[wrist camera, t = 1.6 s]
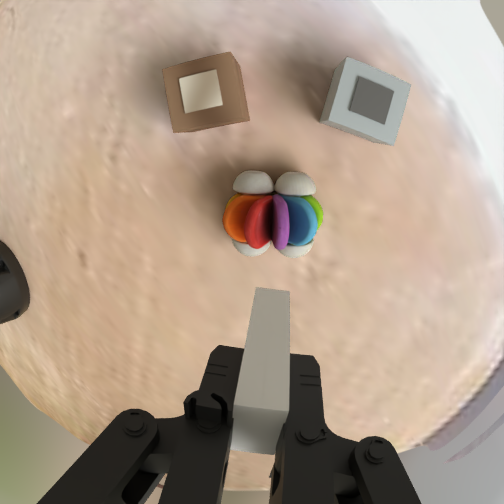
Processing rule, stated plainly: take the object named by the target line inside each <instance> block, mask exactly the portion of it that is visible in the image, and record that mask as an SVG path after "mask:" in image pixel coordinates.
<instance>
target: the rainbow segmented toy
mask: <svg viewBox="0 0 504 504" xmlns="http://www.w3.org/2000/svg"><path fill="white" fill-rule="evenodd" d="M233 190H234V191H236V192H238V193H237V194H236V195H234V196H233V197H232V198H231V199H230V200H229V201H228V203H227V205H226V208H225V212H224V215H223V225H224V228H225V230H226V232H227V233H228V235H229V236H230V237H232V241H233V244H234V246H235V248H236V249H237V250H238V251H239V252H240V253H242V254H243V255H246V256H258V255H260V254H262V253H264V252H265V251H266V250H267V249H268V248H269V246H270V244H271V241H272V242H273V244H274V247H275V248H276V249H277V250H278V251H279V252H280V253H281V254H283V255H284V256H286V257H290V258H298V257H301V256H303V255H305V254H306V253H308V252H309V250H310V249H311V247H312V245H313V242H314V240H313V237H314V236H315V234H316V231H317V230H318V228H319V227H320V225H321V223H322V220H323V210H322V207H321V205H320V204H319V202H318V201H317V200H316V199H315V198H314V197H312V195H311V194H314V193H315V192H316V187H315V184H314V182H313V180H312V179H311V178H310V176H308V175H307V174H305V173H302V172H286V173H284V174H283V175H281V176H280V177H279V178H278V180H277V181H276V184H275V185H274V184H273V182H272V180H271V178H270V177H269V176H268V175H267V174H266V173H265V172H262V171H255V170H250V171H244V172H242V173H241V174H240V175H238V176H237V178H236V179H235V181H234V184H233ZM273 191H276V192H277V193H278V195H273V196H271V195H270V193H271V192H273Z"/></svg>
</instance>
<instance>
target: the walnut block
mask: <svg viewBox="0 0 504 504" xmlns="http://www.w3.org/2000/svg"><path fill="white" fill-rule="evenodd" d="M162 71H163V77H164V83H165V89H166V95H167V101H168V106H169V112H170V117H171V123H172V128H173V133H181V132H195V131H200V130H204V129H209V128H214V127H219V126H224V125H229V124H234V123H239V122H245V121H250V118H249V112H248V107H247V101H246V96H245V90H244V85H243V80H242V74H241V69H240V65H239V64H238V62H237V61H236V59H235V58H234V56H233V55H232V53H231V52H226V53H222V54H217V55H213V56H208V57H204V58H200V59H196V60H193V61H189V62H185V63H182V64H178V65H175V66H171V67H168V68H165V69H162Z"/></svg>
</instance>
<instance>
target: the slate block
mask: <svg viewBox="0 0 504 504" xmlns="http://www.w3.org/2000/svg"><path fill="white" fill-rule="evenodd" d="M410 87H411V84H409V83H407V82H405V81H403V80H401V79H399V78H397V77H395V76H393V75H390V74H388V73H386V72H384V71H382V70H379V69H377V68H375V67H372V66H370V65H367V64H365V63H363V62H360V61H357V60H355V59H352V58H350V57H346V58H345V59H344V60H343V61H342V62H341V64H340V65H339V66H338V67H337V68H336V69H335V71H334V74H333V78H332V81H331V85H330V88H329V91H328V95H327V98H326V101H325V105H324V108H323V111H322V115H321V118H320V121H319V122H320V123H323V124H325V125H328V126H331V127H334V128H337V129H340V130H342V131H345V132H348V133H350V134H353V135H356V136H358V137H361V138H363V139H366V140H368V141H371V142H373V143H379V144H385V145H391V146H394V143H395V140H396V137H397V133H398V130H399V127H400V123H401V120H402V116H403V113H404V109H405V106H406V102H407V98H408V95H409V91H410Z"/></svg>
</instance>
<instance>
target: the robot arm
mask: <svg viewBox="0 0 504 504" xmlns="http://www.w3.org/2000/svg"><path fill="white" fill-rule="evenodd" d="M29 303H30V294H29V288H28V284H27V281H26V278H25V275H24V273H23V270H22V268H21V266H20V264H19V262H18V261H17V259H16V257H15V256H14V254H13V253H12V252H11V250H10V249H9V248H8V247H7V246H6V245H5V244H4V243H2V242H1V241H0V324H3V323H5V322H8V321H11V320H14V319H17V318H18V317H20V316H21V315H22V314H23V313H24V312H25V311H26V310H27V309H28V307H29ZM183 403H184V411H185V414H184V415H182V416H179V417H175V418H154V416H152V415H151V414H150V413H149V412H147V411H144V410H141V409H129V410H126V411H123V412H121V413H120V414H119V415H117V416H116V417H115V419H114V420H113V421H112V422H111V423H110V424H109V425H108V426H107V427H106V429H105V430H104V431H103V432H102V433H101V434H100V435H99V436H98V437H97V438H96V440H95V441H94V442H93V443H92V444H91V445H90V446H89V447H88V448H87V449H86V451H85V452H84V453H83V454H82V455H81V456H80V457H79V458H78V459H77V461H76V462H75V463H74V464H73V465H72V466H71V467H70V468H69V469H68V470H67V471H66V472H65V474H64V475H63V476H62V477H61V478H60V479H59V480H58V481H57V482H56V483H55V484H54V486H53V487H52V488H51V489H50V490H49V491H48V492H47V493H46V494H45V495H44V496H43V497H42V499H41V500H40V501H39V502H38V503H37V504H144V503H145V502H146V500H147V499H148V498H149V496H150V495H151V493H152V492H153V491H154V489H155V487H156V486H157V485H158V483H159V482H160V480H161V479H162V478H163V476H164V475H165V473H168V474H167V477H166V480H165V484H164V487H163V490H162V493H161V497H160V499H159V503H158V504H221V499H222V493H223V488H224V483H225V478H226V472H227V467H228V458H229V453H230V450H236V451H244V452H251V453H260V454H270V455H274V454H275V463H274V465H273V468H272V470H271V473H270V476H269V477H270V478H271V489H270V499H269V504H421V502H420V500H419V498H418V495H417V493H416V491H415V489H414V487H413V485H412V483H411V481H410V479H409V477H408V475H407V473H406V471H405V469H404V466H403V464H402V463H401V460H400V458H399V457H398V454H397V452H396V450H395V448H394V447H393V446H392V444H391V443H390V442H389V441H387V440H386V439H384V438H381V437H377V436H371V437H366V438H364V439H362V440H361V441H360V442H356V441H353V440H349V439H345V438H342V437H340V436H337V435H336V434H334V433H333V432H332V431H331V430H330V429H329V428H328V427H327V425H326V423H325V419H324V410H323V398H322V387H321V378H320V366H319V364H318V363H317V361H316V359H315V358H314V356H311V355H300V354H290V291H283V290H275V289H267V288H259V287H256V290H255V295H254V301H253V306H252V311H251V317H250V322H249V327H248V333H247V338H246V343H245V348H244V349H243V348H236V347H229V346H223V345H218V346H217V347H216V348H215V349H214V350H213V351H212V352H211V354H210V357H209V360H208V363H207V366H206V369H205V373H204V376H203V379H202V382H201V385H200V388H199V390H198V391H194V392H193V393H191V394H190V395H188V396H187V397H186V399H185V401H184V402H183ZM275 451H276V452H275Z"/></svg>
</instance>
